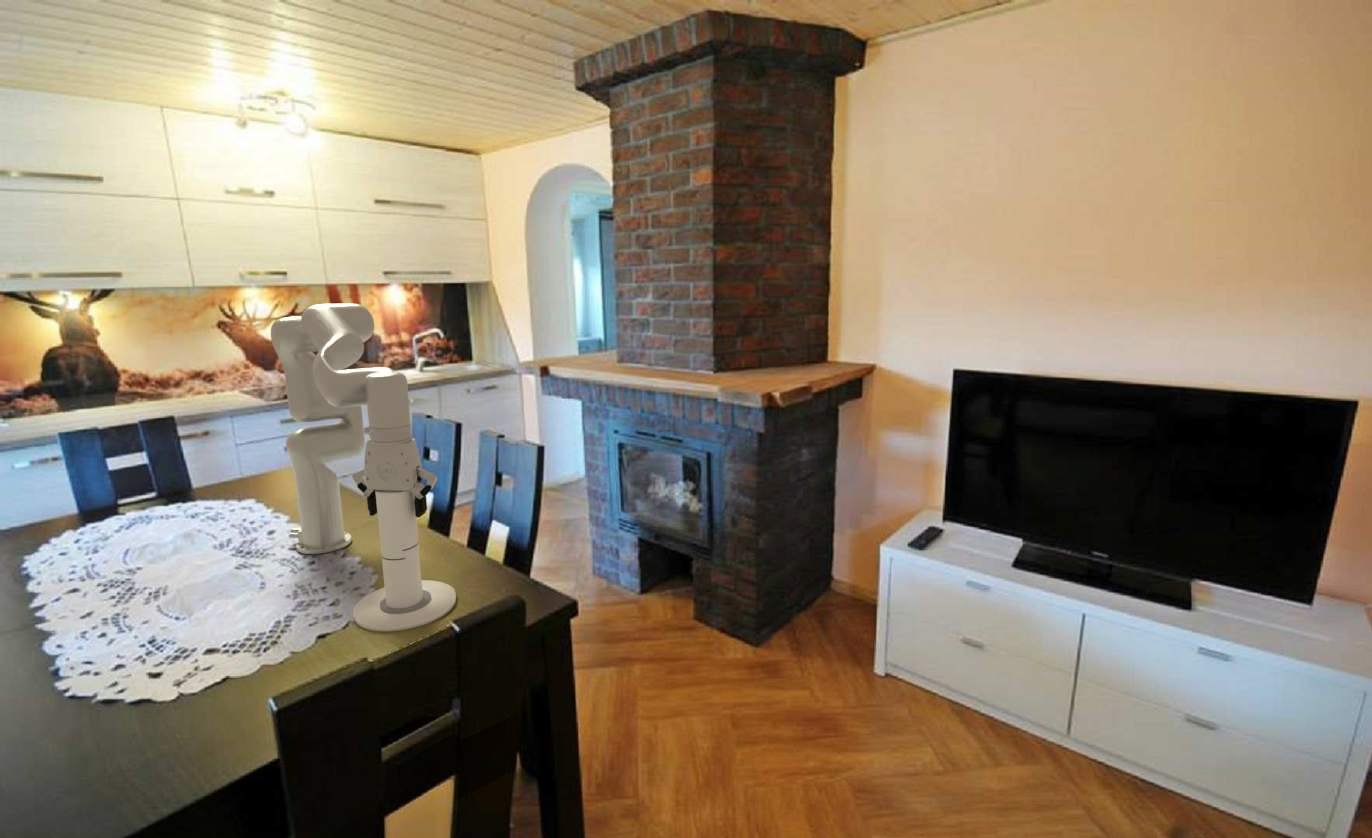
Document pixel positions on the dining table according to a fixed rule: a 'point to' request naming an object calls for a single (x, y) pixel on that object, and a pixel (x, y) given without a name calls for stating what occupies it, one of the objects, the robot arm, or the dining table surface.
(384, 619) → the plate
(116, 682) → the dining table surface
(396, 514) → the cylindrical container
